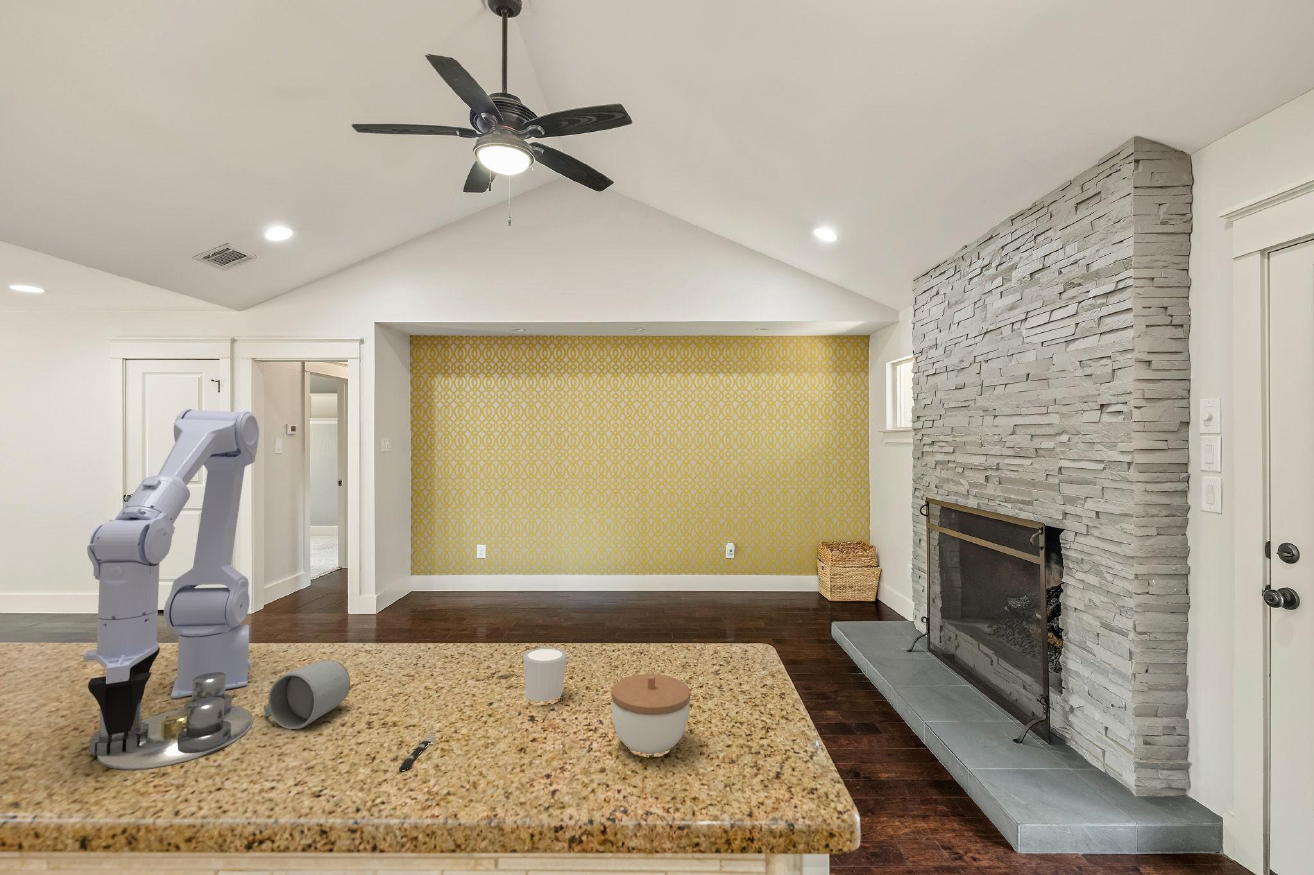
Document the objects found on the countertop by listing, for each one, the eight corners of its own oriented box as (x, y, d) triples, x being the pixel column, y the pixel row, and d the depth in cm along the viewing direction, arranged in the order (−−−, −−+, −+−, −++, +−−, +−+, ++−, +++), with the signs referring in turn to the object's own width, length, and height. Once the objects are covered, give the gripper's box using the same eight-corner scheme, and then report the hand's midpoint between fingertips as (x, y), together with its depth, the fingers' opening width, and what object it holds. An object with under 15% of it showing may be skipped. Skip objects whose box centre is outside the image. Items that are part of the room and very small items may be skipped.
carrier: (251, 700, 90) (253, 663, 90) (253, 746, 77) (254, 703, 77) (109, 726, 81) (111, 685, 81) (84, 784, 68) (86, 735, 68)
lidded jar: (634, 776, 73) (637, 700, 73) (596, 738, 82) (598, 670, 82) (704, 754, 78) (706, 683, 78) (661, 721, 87) (663, 657, 87)
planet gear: (150, 729, 79) (152, 692, 79) (145, 747, 75) (146, 708, 75) (94, 740, 76) (96, 701, 76) (85, 760, 71) (87, 718, 71)
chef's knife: (477, 708, 91) (458, 706, 91) (477, 700, 91) (458, 698, 91) (420, 777, 72) (396, 774, 72) (421, 768, 72) (397, 765, 72)
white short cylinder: (512, 702, 92) (514, 657, 92) (537, 686, 98) (538, 644, 98) (550, 711, 89) (551, 665, 89) (573, 694, 96) (574, 650, 96)
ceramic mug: (354, 706, 89) (355, 655, 89) (314, 733, 81) (315, 676, 81) (291, 701, 90) (292, 650, 91) (246, 726, 82) (247, 671, 82)
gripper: (97, 603, 79) (93, 705, 79) (72, 634, 67) (67, 753, 67) (165, 597, 83) (161, 693, 83) (152, 625, 71) (148, 737, 71)
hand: (124, 719), depth 75 cm, fingers open, 7 cm apart
